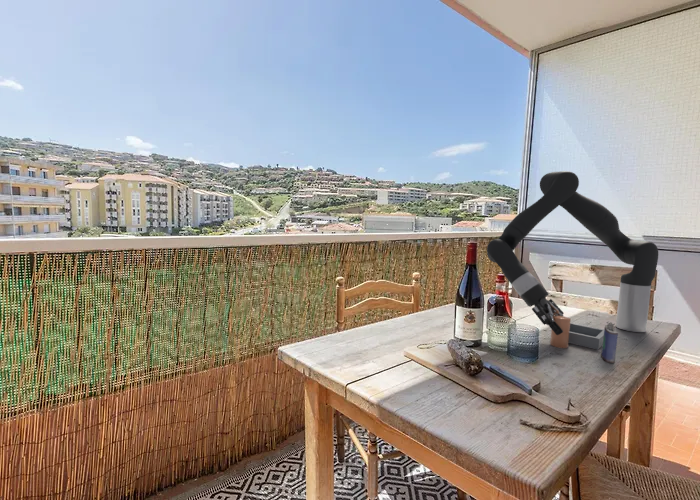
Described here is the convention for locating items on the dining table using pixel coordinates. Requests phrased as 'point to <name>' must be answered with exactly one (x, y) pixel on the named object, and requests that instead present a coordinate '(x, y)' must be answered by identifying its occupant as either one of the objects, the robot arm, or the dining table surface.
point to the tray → (586, 336)
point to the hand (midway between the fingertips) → (564, 330)
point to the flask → (609, 343)
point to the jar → (562, 338)
